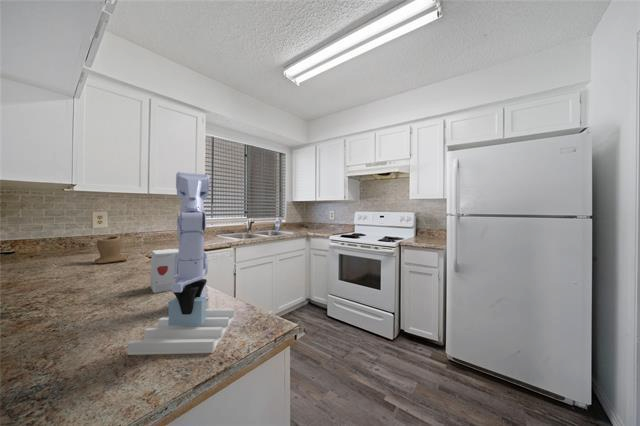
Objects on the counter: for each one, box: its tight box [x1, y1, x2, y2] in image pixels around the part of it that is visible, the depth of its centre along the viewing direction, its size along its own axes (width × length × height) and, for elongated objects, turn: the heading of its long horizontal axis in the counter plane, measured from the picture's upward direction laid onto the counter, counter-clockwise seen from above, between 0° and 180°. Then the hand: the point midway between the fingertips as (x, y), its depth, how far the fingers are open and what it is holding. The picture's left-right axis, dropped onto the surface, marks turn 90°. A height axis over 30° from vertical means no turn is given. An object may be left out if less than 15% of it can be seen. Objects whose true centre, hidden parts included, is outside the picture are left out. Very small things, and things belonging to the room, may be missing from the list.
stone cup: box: [93, 235, 129, 264], centre depth 138 cm, size 15×12×15 cm
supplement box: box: [150, 248, 179, 294], centre depth 96 cm, size 9×9×15 cm
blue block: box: [167, 296, 207, 326], centre depth 63 cm, size 3×8×6 cm, turn 95°
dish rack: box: [126, 308, 236, 356], centre depth 63 cm, size 18×18×2 cm
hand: (190, 310), depth 63 cm, fingers closed on blue block, 3 cm apart
